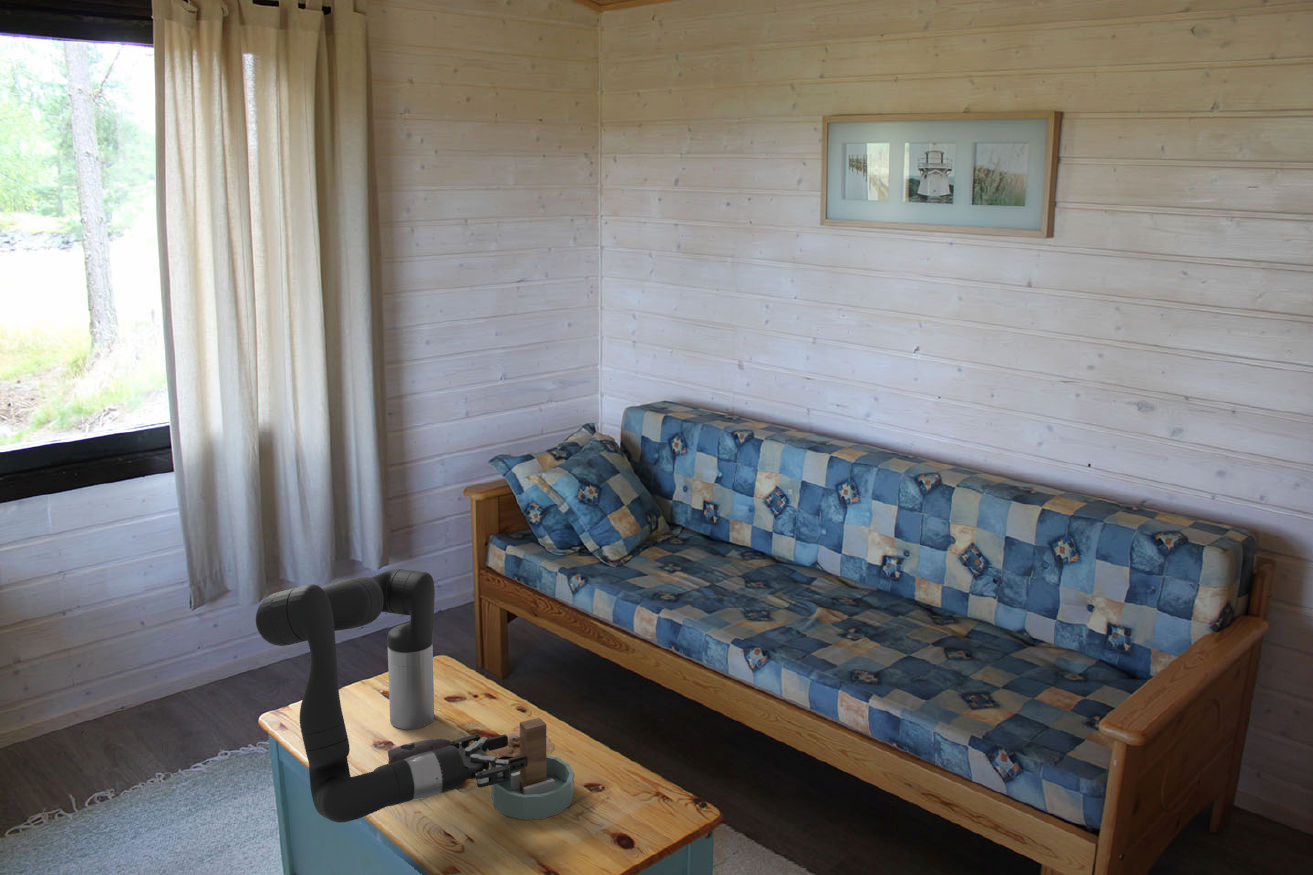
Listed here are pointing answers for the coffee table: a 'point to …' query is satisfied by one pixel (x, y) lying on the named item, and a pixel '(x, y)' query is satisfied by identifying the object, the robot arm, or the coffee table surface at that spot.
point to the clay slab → (516, 745)
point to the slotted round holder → (536, 793)
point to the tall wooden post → (533, 751)
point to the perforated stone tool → (416, 749)
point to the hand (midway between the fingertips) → (516, 749)
